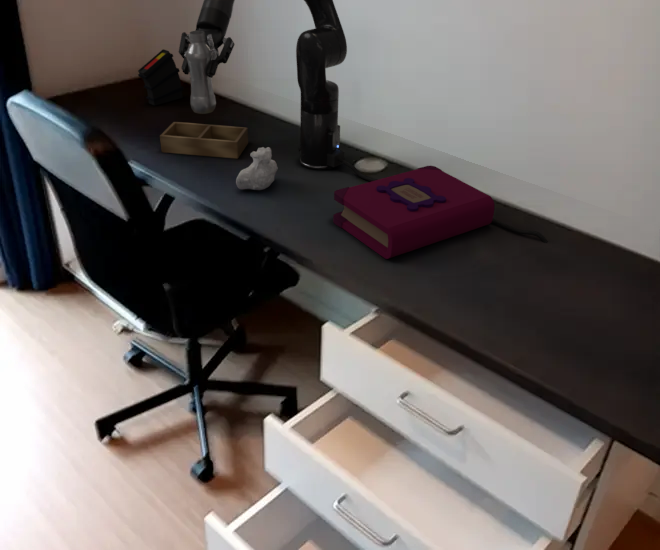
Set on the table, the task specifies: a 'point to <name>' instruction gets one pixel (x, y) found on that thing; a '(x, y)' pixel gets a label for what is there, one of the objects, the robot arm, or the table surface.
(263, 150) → the bust
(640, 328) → the table surface
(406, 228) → the book
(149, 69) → the magazine
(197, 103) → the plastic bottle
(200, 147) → the brown open rectangular box
